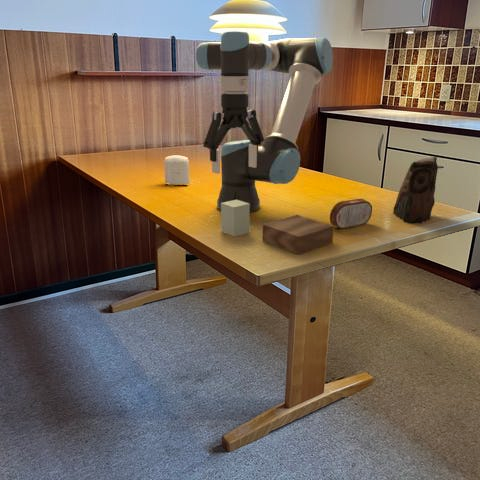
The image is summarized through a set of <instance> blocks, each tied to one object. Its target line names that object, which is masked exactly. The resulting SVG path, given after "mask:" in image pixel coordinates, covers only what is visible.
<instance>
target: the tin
mask: <svg viewBox="0 0 480 480" xmlns="http://www.w3.org/2000/svg"><path fill="white" fill-rule="evenodd" d="M372 212H373V206H372V204H371V202H369V201H368V200H365V199H364V198H355V199H348V200H347V199H346V200H341V201H338V202H337V203H335V204H334V206H333V207H332V209H331V211H330V214H329V221H330V223H331V224H330V225H332V226H334V227H335V228H338V229H341V230H342V229H349V228H355V227H360V226H364V225H366V224H367V223H368V222H369V221H370V219H371V217H372Z"/></svg>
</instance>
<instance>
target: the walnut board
mask: <svg viewBox="0 0 480 480" xmlns="http://www.w3.org/2000/svg"><path fill="white" fill-rule="evenodd" d="M334 228H335V226H333V225H332V224H328V223H324V222H321V221H318V220H316V219H311V218H309V217H305V216H302V215H299V214H295V215H292V216H288V217H285V218H280V219H277V220H273V221H270V222H266V223H263V224H262V242H265V243H267V244H269V245H272V246H274V247H278V248H280V249H283V250H285V251H287V252H290V253H293V254H296V255H301V254H304V253H307V252H310V251H312V250H315V249H319V248H321V247H324V246H327V245H329V244H333V239H334Z"/></svg>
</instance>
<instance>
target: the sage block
mask: <svg viewBox="0 0 480 480" xmlns="http://www.w3.org/2000/svg"><path fill="white" fill-rule="evenodd" d="M220 225H221V226H220V227H221V228H220V229H221V230H220V231H222V232H221V233H223V232H225V233H224V234H226V233H227V234H226V235H228V234H229V235H228V236H231V235H232V236H231V237H233V236H235V237H239V236H242V235H246V234H248V233H250V204H249V203H246V202H243V201H239V200H232V201H228V202H223V203H221V210H220ZM245 233H246V234H245ZM238 235H239V236H238Z"/></svg>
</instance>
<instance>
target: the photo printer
mask: <svg viewBox="0 0 480 480" xmlns="http://www.w3.org/2000/svg"><path fill="white" fill-rule="evenodd" d="M163 163H164V184H165V183H169V184H189V185H190V161H189V157H186V156H184V155H183V156H182V155H179V154H177V155H176V154H175V155H168V156H166V157H165V158H164V162H163Z"/></svg>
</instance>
